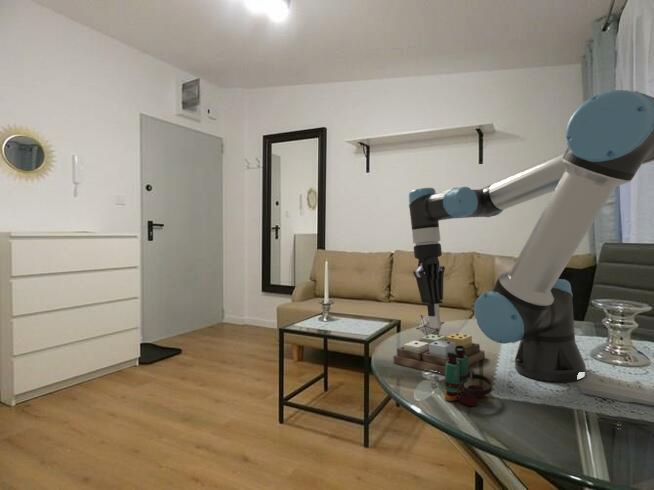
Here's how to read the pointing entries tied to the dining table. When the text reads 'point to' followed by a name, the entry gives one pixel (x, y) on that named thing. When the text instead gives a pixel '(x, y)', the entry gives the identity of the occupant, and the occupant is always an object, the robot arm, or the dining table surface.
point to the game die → (426, 328)
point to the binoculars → (462, 379)
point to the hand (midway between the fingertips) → (435, 327)
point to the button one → (416, 346)
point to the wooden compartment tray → (434, 358)
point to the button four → (460, 340)
